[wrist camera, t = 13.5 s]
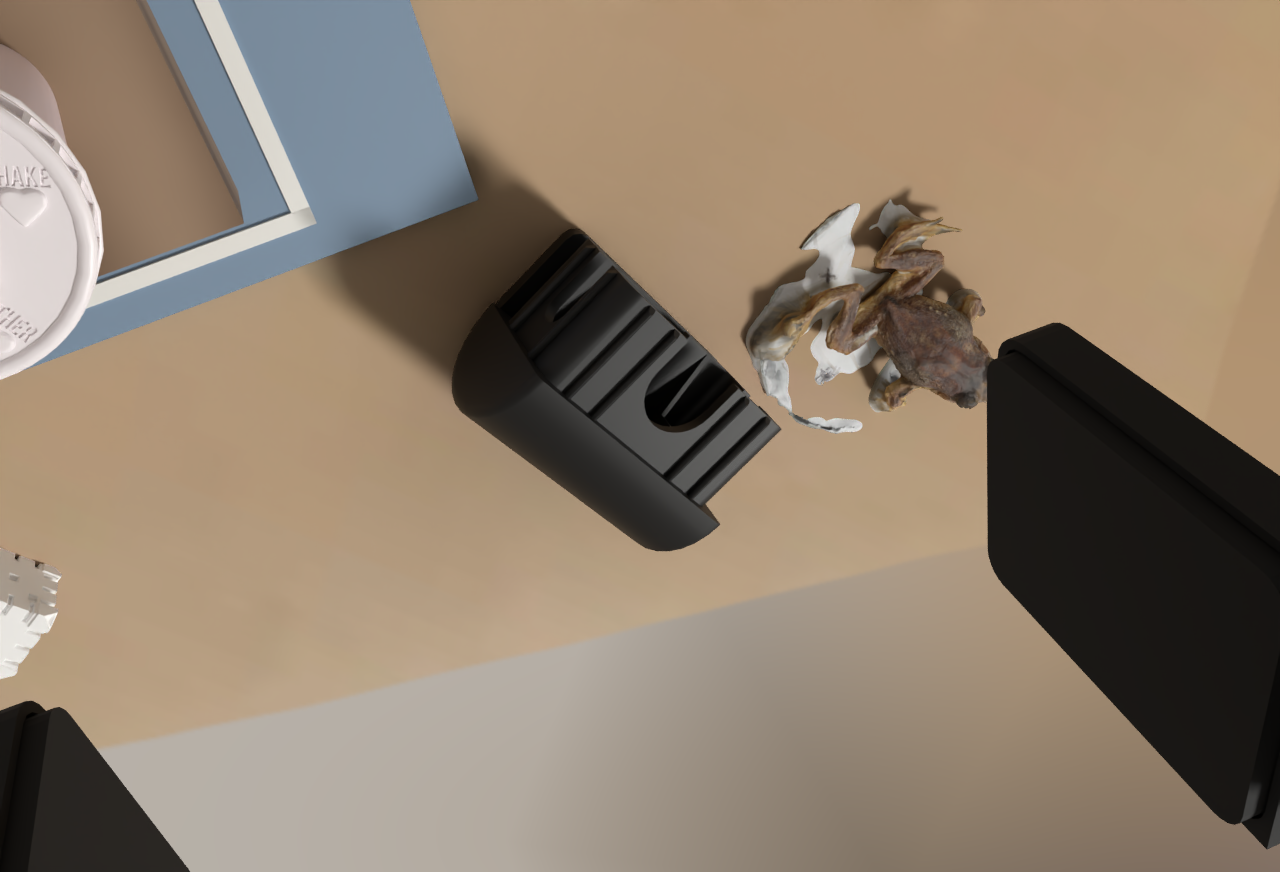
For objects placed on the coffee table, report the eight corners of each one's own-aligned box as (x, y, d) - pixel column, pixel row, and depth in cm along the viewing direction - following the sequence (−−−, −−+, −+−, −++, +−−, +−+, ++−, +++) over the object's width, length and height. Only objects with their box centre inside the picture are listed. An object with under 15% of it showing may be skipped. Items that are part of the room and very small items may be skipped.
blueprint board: (278, -371, 29) (281, -374, 28) (473, 192, 38) (479, 200, 37) (-558, -138, 26) (-579, -135, 25) (-123, 414, 35) (-129, 428, 34)
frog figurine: (1046, 259, 49) (1105, 292, 46) (876, 469, 52) (921, 513, 49) (887, 117, 43) (944, 145, 40) (703, 365, 46) (742, 409, 43)
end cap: (429, 353, 41) (470, 445, 35) (563, 212, 40) (628, 284, 34) (604, 488, 46) (663, 584, 41) (725, 367, 46) (801, 450, 40)
